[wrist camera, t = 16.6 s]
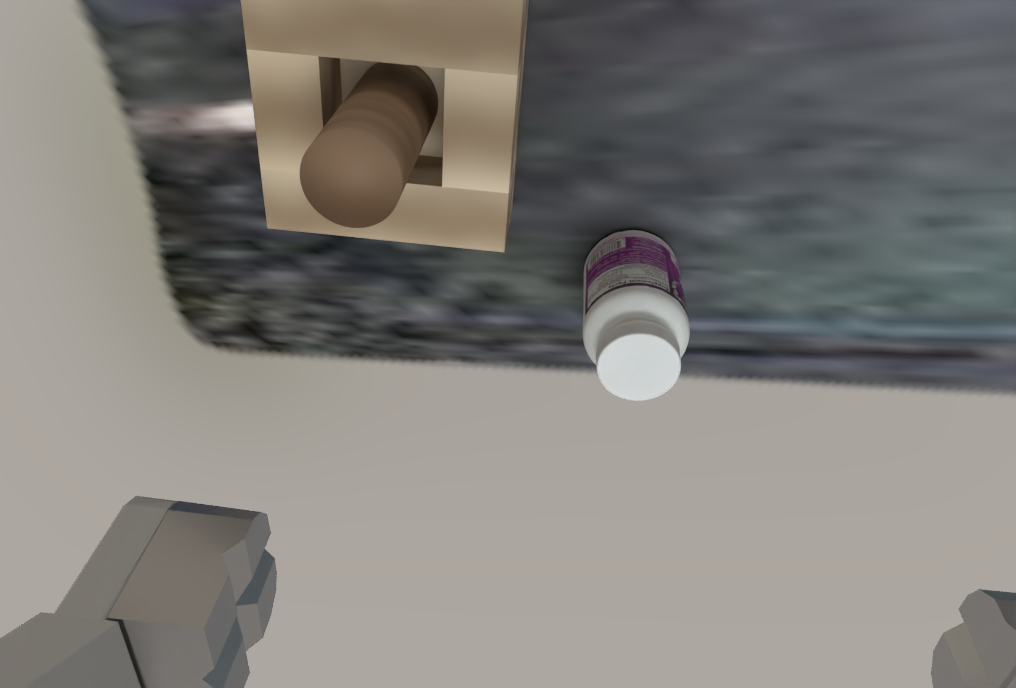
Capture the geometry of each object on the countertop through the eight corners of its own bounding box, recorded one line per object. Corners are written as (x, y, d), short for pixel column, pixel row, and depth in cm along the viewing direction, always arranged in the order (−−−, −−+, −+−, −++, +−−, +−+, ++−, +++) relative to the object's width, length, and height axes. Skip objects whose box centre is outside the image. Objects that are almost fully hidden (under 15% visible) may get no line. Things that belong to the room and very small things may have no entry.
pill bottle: (672, 310, 47) (688, 416, 39) (581, 306, 48) (579, 411, 40) (683, 227, 44) (703, 325, 36) (585, 223, 44) (585, 320, 37)
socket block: (275, -51, 38) (237, -29, 34) (530, -27, 37) (523, -3, 33) (296, 186, 45) (267, 228, 41) (512, 208, 44) (504, 252, 40)
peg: (356, 54, 39) (295, 127, 30) (439, 62, 39) (400, 137, 30) (359, 135, 41) (303, 222, 33) (437, 143, 41) (400, 232, 33)
